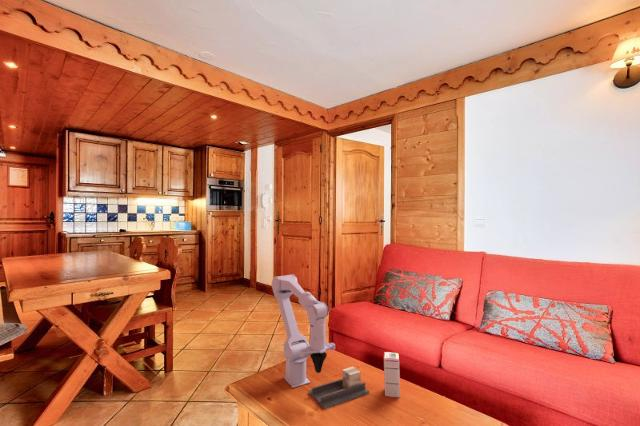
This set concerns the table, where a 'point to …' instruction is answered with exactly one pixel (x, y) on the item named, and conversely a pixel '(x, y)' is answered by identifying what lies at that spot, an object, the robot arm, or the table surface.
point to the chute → (336, 393)
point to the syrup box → (391, 374)
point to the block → (351, 377)
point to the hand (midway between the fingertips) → (318, 371)
